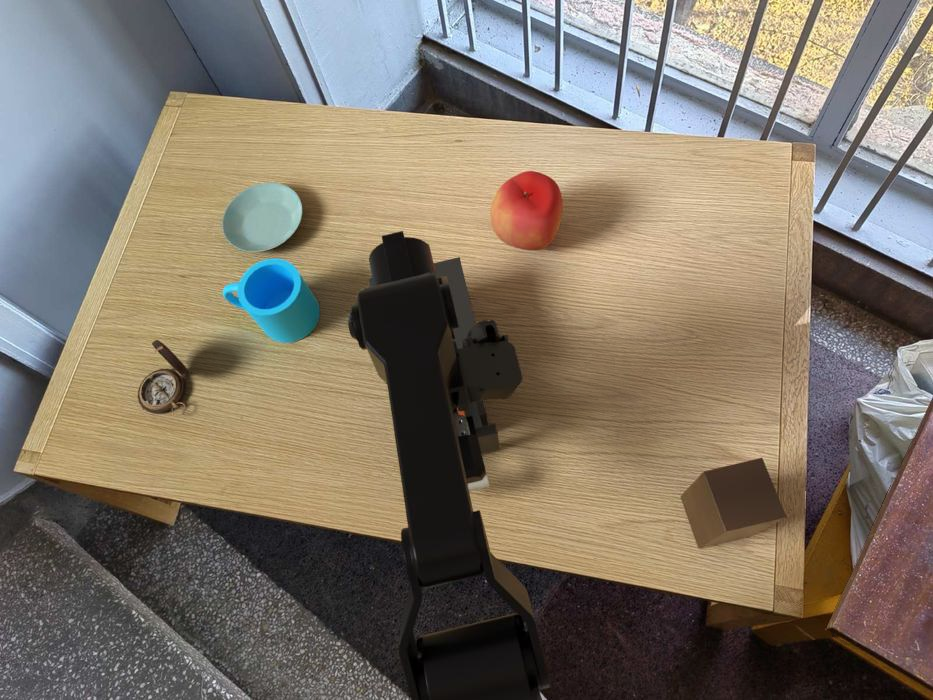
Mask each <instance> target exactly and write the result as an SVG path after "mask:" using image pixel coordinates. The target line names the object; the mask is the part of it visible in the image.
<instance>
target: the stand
mask: <svg viewBox="0 0 933 700" xmlns="http://www.w3.org/2000/svg"><path fill="white" fill-rule="evenodd" d="M680 500H681V503H682V506H683V508H684V512H685V514H686V517H687V520H688V523H689V525H690V529H691V531H692V534H693V537H694V540H695V543H696V545H697V548H698V549H703V548H708V547H713V546H717V545H720V544H724V543H729V542H733V541H737V540H743V539H745V538H750V537H753V536H754V535H756V534H758V533H760V532H762V531H764V530H766V529H768V528H769V527H771V526H773V525H776V524H777V523H779V522H780V521H782V520H784V519H786V518H787V515H786V512H785V509H784V507H783V505H782V502H781V500H780V497H779V495H778V493H777V490H776V488H775V485H774V483H773V480H772V477H771V475H770V473H769V471H768V468H767V466H766V464H765V461H764V458H763V457H759V458H755V459H754V458H753V459H750V460H746V461H742V462H738V463H733V464H729V465H725V466H722V467H717V468H712V469H709V470H704V471H702V473H701V474H700V475H699V476H698V477H697V478H696V479H695V480H694V481H693V482H692V483H691V484H690V486H689V487H687V488H686V490H685V491H684V492H683V493H682V494H681V495H680Z"/></svg>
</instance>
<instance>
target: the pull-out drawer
mask: <svg viewBox="0 0 933 700" xmlns="http://www.w3.org/2000/svg"><path fill="white" fill-rule="evenodd" d="M471 407H472V409H469V410H465V414H466V417H469V416H472V417H473V421H474V425H475V430H476V434H477V436H478V439H479V443H480V448H481V452H482V455H483V454H487V453H492V452H496V451H500V450H501V445H500V439H499V433H498V429H497V425H496V423H491V424H489V420H488V414H487V410H486V406H485V401H477V402H473V403H471ZM490 487H491V485H490V481H489V476H488V474H486V475H485V477H484V478H483V480H482V481H478V482H473V483H469V484H468V488H469V493H471V492H474V491H479V490H482V489H487V488H490Z"/></svg>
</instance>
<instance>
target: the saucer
mask: <svg viewBox="0 0 933 700" xmlns="http://www.w3.org/2000/svg"><path fill="white" fill-rule="evenodd" d="M299 196H300V195H298V194H297V192H296V191H294V189H292V188H291V187H289V186H287V185H285V184H282V183H278V182H262V183H258V184H254V185H252V186H249V187H247V188H245V189H244V190H242V191H241V192H239V193H238V194H237V195H235V196H234V197H233V199H231V201H230V202H229V203H228V205H227V206H226V207H225V210H224V213H223V215H222V222H221V228H222V233H223V235H224V238H225V239H226V241H227V242H228V243H229V244H230V245H231V246H232V247H234V248H236V249H238V250H239V251H243V252H250V253H260V252H265V251H269V250H272V249H274V248H277V247H279V246H280V245H282V244H285V242H286V241H288V240H289V239H290V238H291V237H292V236H293V234H294V233H295V232H296V231H297V229H298V227H299V225H300V224H301V221H302V218H303V204H302V201H301V198H300V197H299Z"/></svg>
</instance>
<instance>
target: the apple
mask: <svg viewBox="0 0 933 700" xmlns="http://www.w3.org/2000/svg"><path fill="white" fill-rule="evenodd" d="M563 204H564V201H563V196H562V192H561V188H560V186H559V185H558V183H557V182H556V180H554V179H553V178H552V177H551V176H548V175H547V174H544V173H542V172H539V171H534V170H526V171H523V172H520V173H518V174H516V175H514V176H512V177H511V178H509V179H507V180H506V181H505V182H504V183H503V184H502V185H500V186H499V188H498V189H497V191H496V193H495V195H494V197H493V199H492V201H491V205H490V211H489V212H490V215H489V216H490V223H491V227H492V230H493V232H494V234H495V235H496V236H497V237H498V239H499V240H500V241H501V242H503V243H504V244H506V245H507V246H510V247H513V248H515V249H519V250H523V251H540V250H543V249H546V248H547V247H548V246H549V245H550V244H551V243H552V242H553V240H554V239H555V237H556V235H557V234H558V231H559V228H560V226H561V225H560V224H561V221H562V216H563V208H564V205H563Z"/></svg>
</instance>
